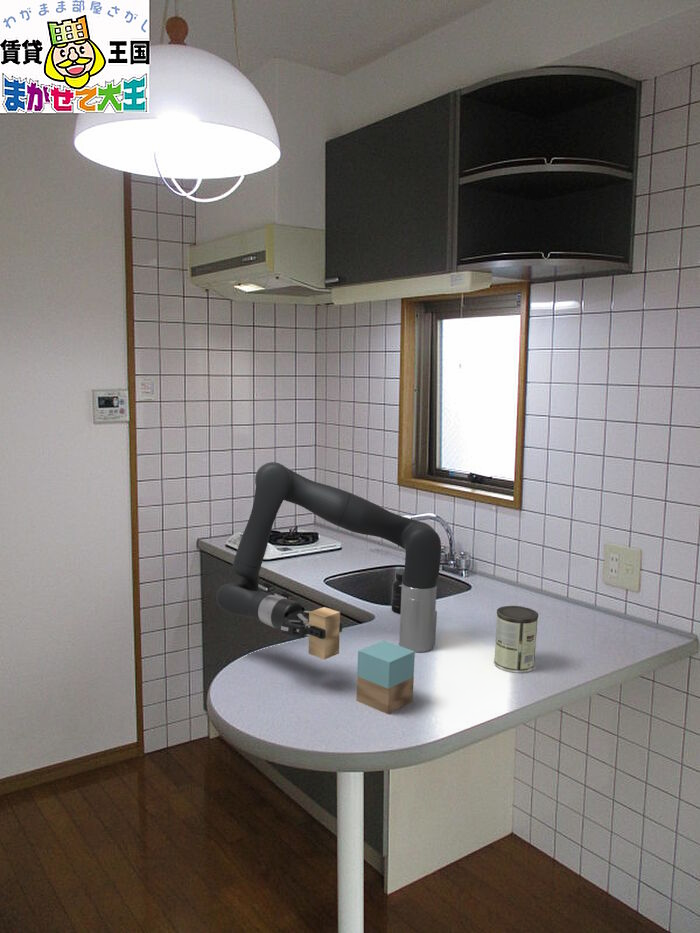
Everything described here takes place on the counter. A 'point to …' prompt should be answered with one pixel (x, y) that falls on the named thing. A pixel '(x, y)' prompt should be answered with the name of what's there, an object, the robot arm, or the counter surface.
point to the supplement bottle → (397, 593)
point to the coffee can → (515, 639)
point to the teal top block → (385, 664)
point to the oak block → (331, 624)
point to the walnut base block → (384, 695)
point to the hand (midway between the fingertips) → (332, 631)
